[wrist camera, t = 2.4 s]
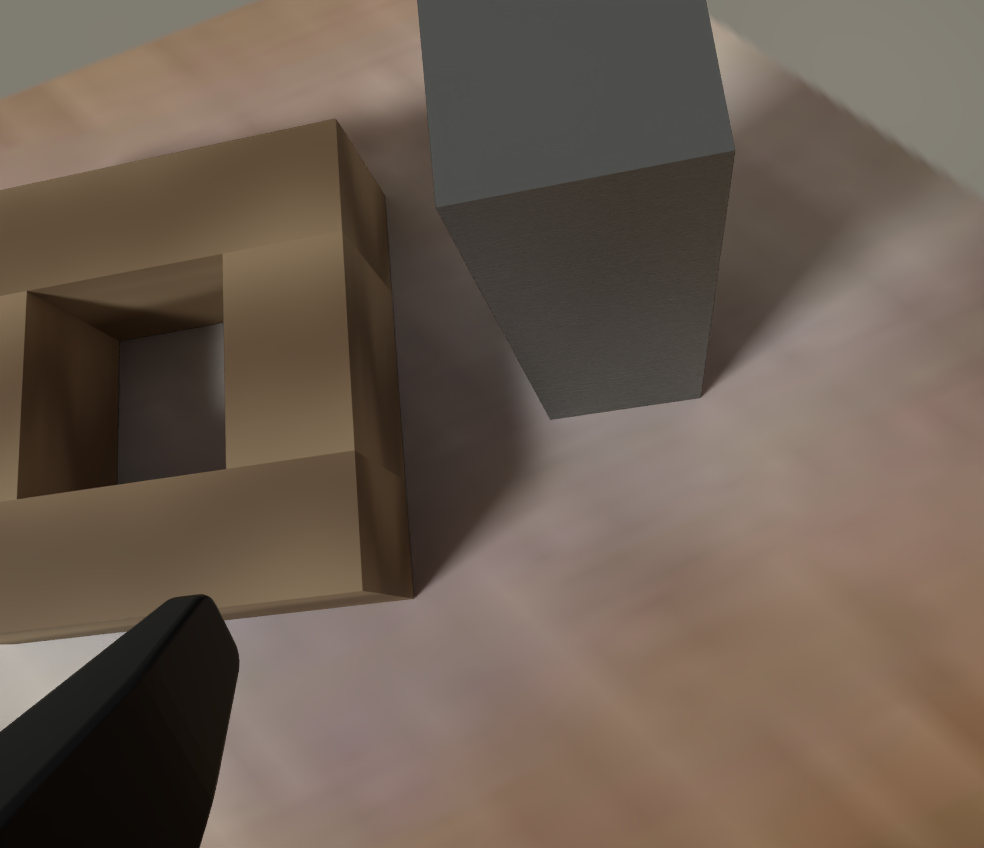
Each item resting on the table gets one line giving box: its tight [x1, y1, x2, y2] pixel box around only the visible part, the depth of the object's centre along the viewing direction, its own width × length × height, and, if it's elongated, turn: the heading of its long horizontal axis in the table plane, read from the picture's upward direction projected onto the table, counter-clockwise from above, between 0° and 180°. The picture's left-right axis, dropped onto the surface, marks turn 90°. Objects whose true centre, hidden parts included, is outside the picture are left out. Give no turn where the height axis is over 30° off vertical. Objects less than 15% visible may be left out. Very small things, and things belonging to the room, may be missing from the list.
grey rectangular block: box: [417, 0, 735, 420], centre depth 18 cm, size 4×4×12 cm
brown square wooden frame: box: [0, 119, 414, 644], centre depth 23 cm, size 12×12×4 cm
